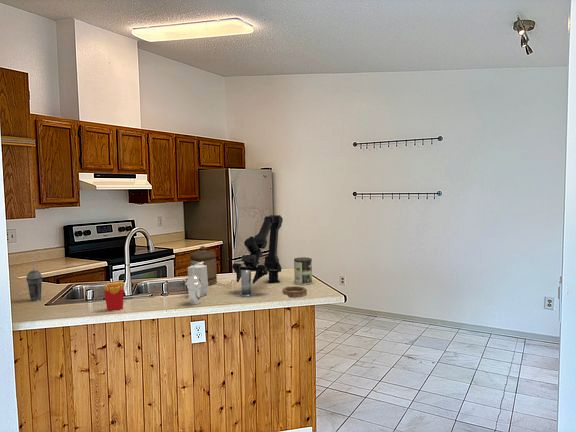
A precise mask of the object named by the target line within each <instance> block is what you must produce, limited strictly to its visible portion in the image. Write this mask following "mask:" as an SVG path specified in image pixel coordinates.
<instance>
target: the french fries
mask: <svg viewBox="0 0 576 432" xmlns="http://www.w3.org/2000/svg"><path fill="white" fill-rule="evenodd" d="M125 285H126V284H125V282H124V281H120V280H119V281H114V282H107V283H104V284H103V286H104V298H105V305H106V309H107V310H108V311H107V312H113V311H112V310H116V311H121V310H120V309H122V310H124V295H125V294H124V293H125Z"/></svg>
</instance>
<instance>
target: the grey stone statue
mask: <svg viewBox="0 0 576 432" xmlns="http://www.w3.org/2000/svg"><path fill="white" fill-rule="evenodd" d="M203 263H204V262H201V263H198V264H195V265H193V275H192V276H190V277H189V278H188V277H187V280H186V281H185V285H186V287H187V291H188V297H189V304H190V303H191V304H190V305H198V304H200V299H201V297H200V291H201V284H203V281H201V279H200V277H199V276H196V275H195V274H194V266H196V265H199V264H203Z"/></svg>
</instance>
